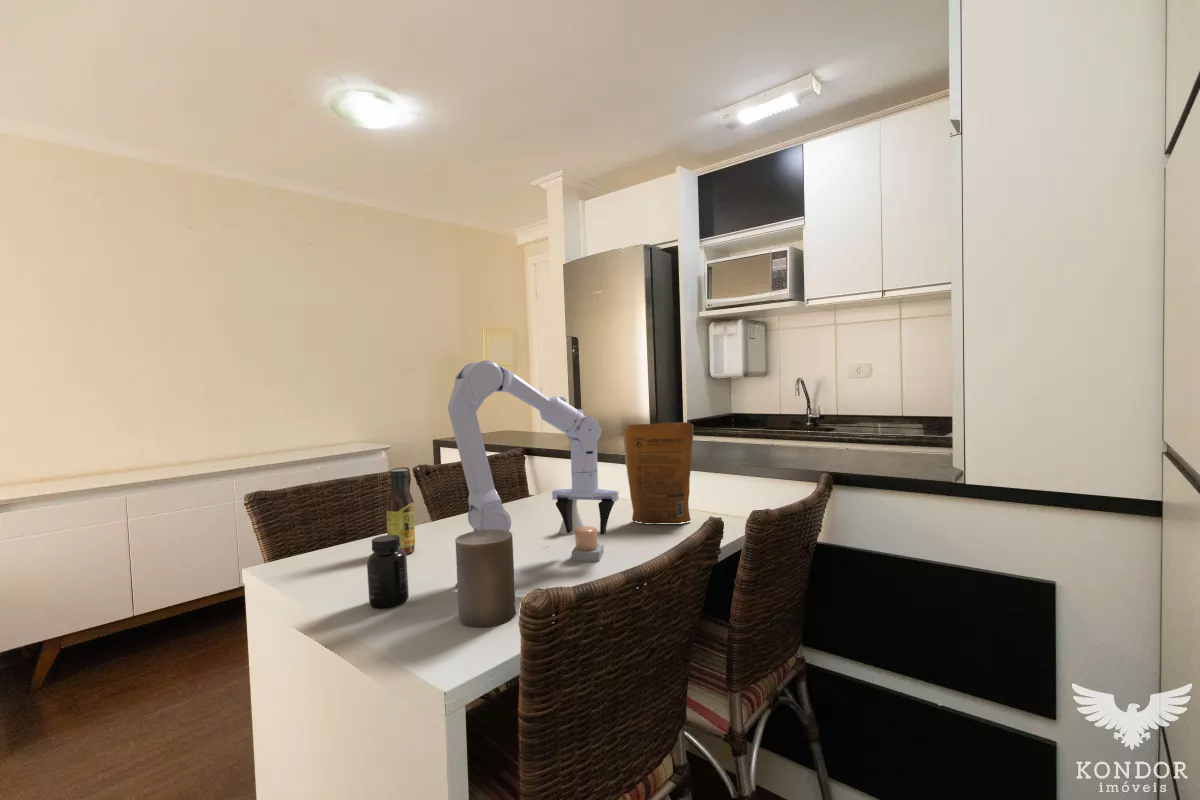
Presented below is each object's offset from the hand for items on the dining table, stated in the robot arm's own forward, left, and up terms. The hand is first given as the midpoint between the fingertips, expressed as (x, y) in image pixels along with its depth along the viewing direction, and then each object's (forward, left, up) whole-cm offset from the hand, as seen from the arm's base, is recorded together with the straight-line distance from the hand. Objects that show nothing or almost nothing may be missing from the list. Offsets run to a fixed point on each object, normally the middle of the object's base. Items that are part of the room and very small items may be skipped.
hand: (586, 532), depth 121 cm
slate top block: (0, 0, -6) cm, 6 cm away
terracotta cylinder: (0, 0, -3) cm, 3 cm away
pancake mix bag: (+36, +11, -7) cm, 38 cm away
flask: (+11, +19, -7) cm, 23 cm away
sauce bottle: (-26, +38, -7) cm, 47 cm away
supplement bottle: (-40, +9, -7) cm, 42 cm away
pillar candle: (-30, -9, -7) cm, 32 cm away
